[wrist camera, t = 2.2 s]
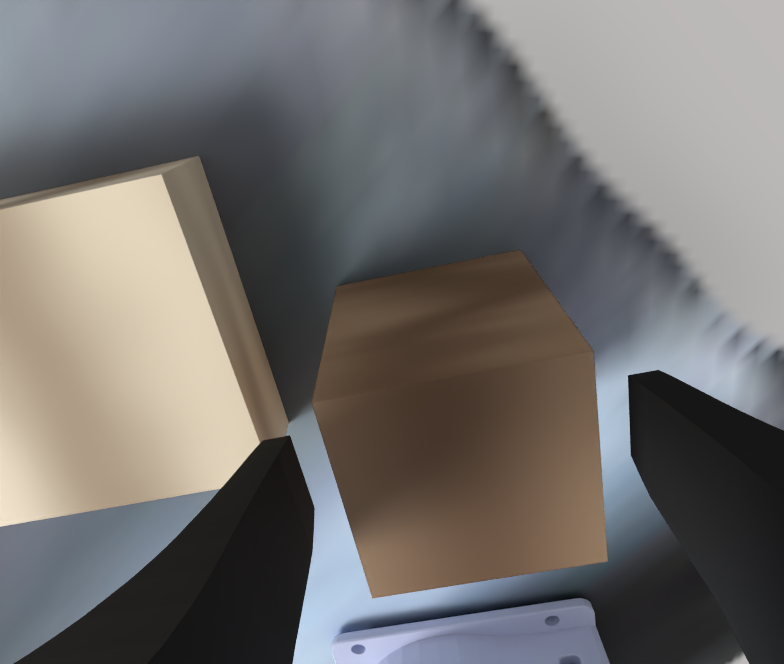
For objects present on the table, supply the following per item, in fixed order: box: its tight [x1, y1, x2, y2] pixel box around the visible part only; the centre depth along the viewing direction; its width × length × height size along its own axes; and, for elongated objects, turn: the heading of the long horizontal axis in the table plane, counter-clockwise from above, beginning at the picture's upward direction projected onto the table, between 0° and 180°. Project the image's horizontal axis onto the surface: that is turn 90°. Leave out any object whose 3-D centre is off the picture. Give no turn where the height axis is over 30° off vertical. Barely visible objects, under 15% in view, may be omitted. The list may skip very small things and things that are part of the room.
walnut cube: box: [312, 250, 608, 598], centre depth 14 cm, size 5×5×6 cm
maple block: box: [0, 156, 289, 527], centre depth 15 cm, size 8×8×3 cm
